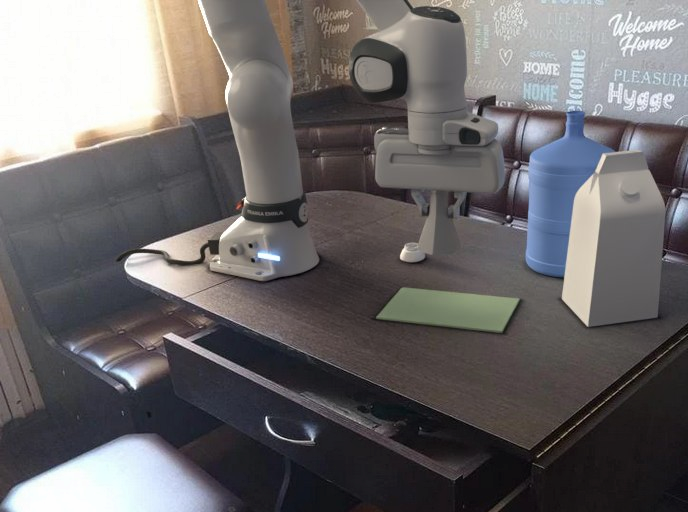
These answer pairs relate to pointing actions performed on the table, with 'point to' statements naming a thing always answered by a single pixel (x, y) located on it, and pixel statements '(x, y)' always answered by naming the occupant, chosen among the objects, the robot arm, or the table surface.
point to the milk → (616, 243)
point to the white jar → (412, 253)
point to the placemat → (450, 309)
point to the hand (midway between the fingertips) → (439, 216)
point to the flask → (439, 228)
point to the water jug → (557, 194)
